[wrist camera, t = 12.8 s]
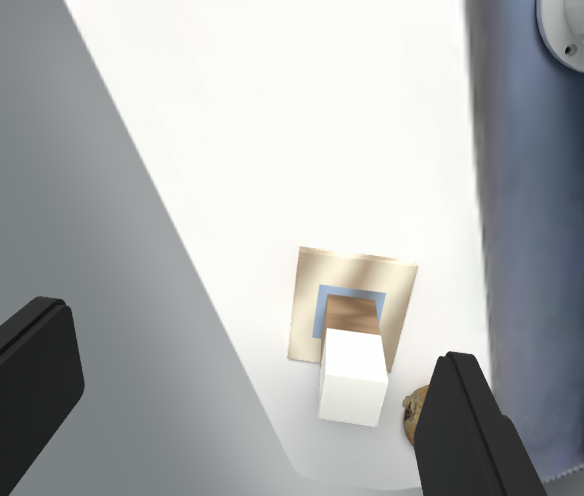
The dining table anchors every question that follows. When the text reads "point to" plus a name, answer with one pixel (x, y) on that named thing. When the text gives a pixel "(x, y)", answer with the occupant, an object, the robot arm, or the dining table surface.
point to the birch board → (353, 283)
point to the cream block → (352, 378)
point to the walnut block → (349, 316)
